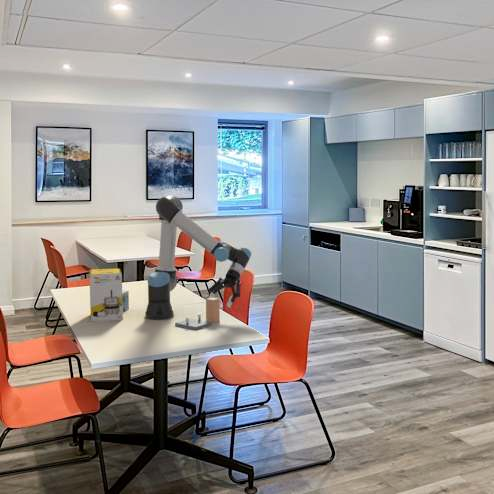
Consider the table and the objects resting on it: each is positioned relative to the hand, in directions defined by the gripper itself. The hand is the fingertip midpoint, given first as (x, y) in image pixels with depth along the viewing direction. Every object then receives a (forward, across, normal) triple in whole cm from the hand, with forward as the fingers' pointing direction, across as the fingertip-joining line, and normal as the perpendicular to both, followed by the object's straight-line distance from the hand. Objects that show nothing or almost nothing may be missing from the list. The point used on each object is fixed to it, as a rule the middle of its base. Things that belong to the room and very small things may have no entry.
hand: (217, 305), depth 317 cm
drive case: (+8, +1, -4) cm, 9 cm away
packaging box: (+26, +53, +15) cm, 61 cm away
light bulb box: (+16, +59, +4) cm, 62 cm away
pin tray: (+17, +3, +5) cm, 18 cm away
